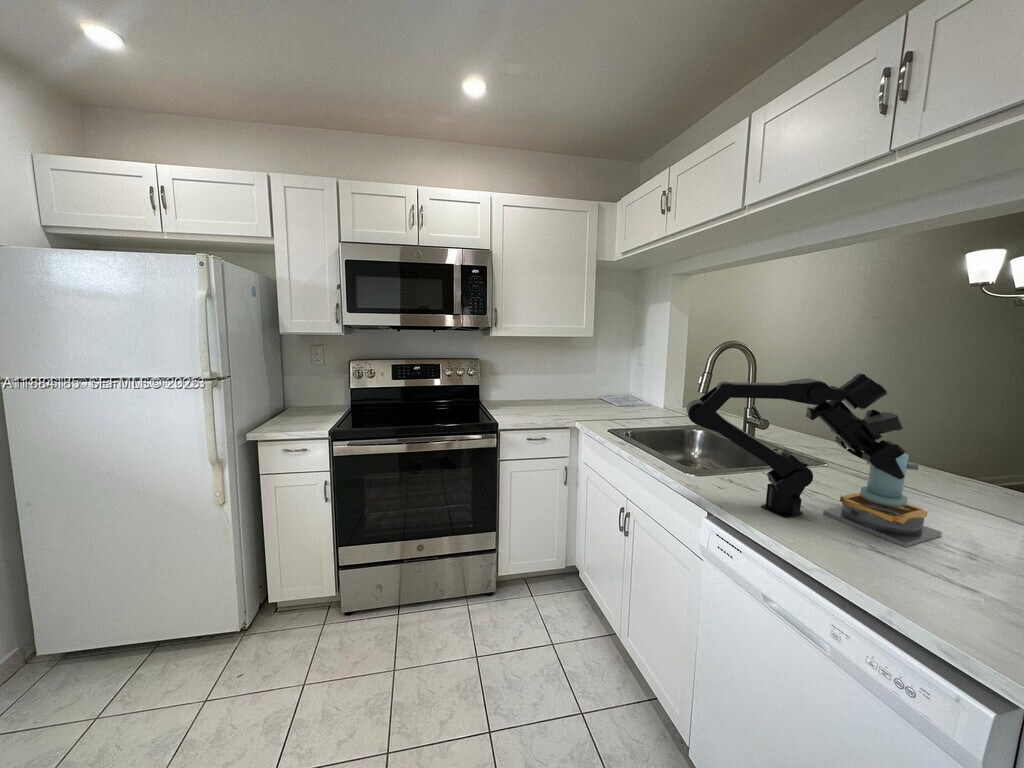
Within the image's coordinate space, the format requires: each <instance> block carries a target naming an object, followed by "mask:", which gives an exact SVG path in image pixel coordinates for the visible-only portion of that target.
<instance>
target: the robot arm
mask: <svg viewBox="0 0 1024 768" xmlns="http://www.w3.org/2000/svg"><path fill="white" fill-rule="evenodd" d="M887 395H888V391H887V390H886V389H885V388H884V386H883V385H881V384H880V383H877V382H876V381H875V380H873V379H871V378H870V377H868V376H867V375H866V374H865V373H861V372H860V373H857V374H856V375H854V376H853V377H852V378H851V379H850V380H848V381H847V382H845V383H844V384H842V385H841V386H840V387H837V386H834V385H830V386H829V385H828V384H827V383H826V382H824V381H821V380H817V379H814V378H802V379H801V378H800V379H793V380H787V381H783V382H745V381H744V382H743V381H742V382H737V381H735V382H733V381H732V382H731V381H726V380H725V381H724V380H723V381H720V382H719V383H718V384H717V385H715V387H713V388H712V389H710V390H709V391H708V392H706V393H705V394H703V395H702V396H701V397H700V398H699V399H698V398H697V399H693V400H691V401H690V402H689V403H688V405H687V406H686V413H687V416H688V418H689V420H690V422H692V423H693V424H695V425H697V426H699V427H702V428H704V429H707V430H709V431H713V432H716V433H718V434H719V435H721V436H723V437H724V438H726V439H727V440H729V441H730V442H732V443H734V444H735V445H737V446H738V447H740V448H741V449H742V450H745V451H746V452H747V453H749V454H751V455H752V456H754V457H755V458H757V459H758V460H760V461H762V462H763V463H764V464H767V466H769V467H770V468H771V470H770V471H768V472H766V475H767V479H768V481H769V482H770V483H768V484H767V488H766V498H765V503H764V504H761V505H760V508H762V509H764V510H766V511H769V512H770V513H773V514H775V515H777V516H779V517H782V518H785V519H788V518H792V517H795V516H800V515H803V511H801V507H802V498H801V495H802V494H803V491H804V490H805V488H806V487H808V486H809V485H811V483H812V482H813V481H814V480H813V479H814V475H813V474H814V473H813V472H812V470H811V469H810V468H809V467H808V466H809V464H808V463H807V462H806V461H805V460H804V459H803V458H801V457H800V456H797V455H794V454H792V453H791V452H790V451H789V450H787V448H784V449H783V451H782V452H780V451H778V450H776V449H773V448H771V447H770V446H768V445H766V444H765V443H763V442H762V441H761V440H758V439H757V438H756V437H754V436H752V435H750V434H749V433H748V432H746V431H744V430H742V429H741V428H739V426H736V425H735V424H733V423H731V422H730V421H728V420H727V419H726V418H725V417H723V416H722V415H721V414H720V413H719V412H718V411H719V410H720V409H721V408H722V407H723V405H725V403H727V401H728V400H729V399H732V398H734V399H769V400H770V399H771V400H773V399H776V400H786V401H791V402H796V403H801V404H806V405H812V406H813V407H808V406H807V407H806V414H805V417H806V418H807V419H809V420H811V421H814V420H816V419H817V418H820V420H821V421H822V422H823V423H824V424H825V425H826V426H827V427H828V428H829V430H830V431H831V432H832V433H833V434H834V435H835V440H834V441H835V442H836V443H837V444H838V446H839V447H840V448H842V449H843V450H846V452H849V453H850V454H852V455H853V456H855V457H857V458H860V459H861V460H863V461H865V462H866V464H867V465H869V466H870V465H871V466H873V467H875V468H877V469H879V470H881V471H883V472H885V473H888V474H890V475H892V476H894V477H896V478H898V479H902V478H904V477H905V478H906V475H905V476H904V474H903V472H902V471H901V469H900V467H899V465H898V463H897V461H896V458H898V457H900V456H901V455H903V454H904V453H906V451H905V450H904V449H903V448H902V447H901V446H900V445H899V444H898V443H895V442H893V441H891V440H880V441H879V442H878V441H877V440H879V439H881V438H882V437H883V435H881V434H887V433H889V432H892V431H893V432H894V431H901V430H903V429H904V427H903V425H902V422H901V420H900V418H899V415H898V414H895V413H892V412H890V411H889V412H885V411H882V412H880V411H878V410H877V409H870V410H869V409H868V410H866V413H865V417H864V418H862V419H861V418H860V417H858V416H857V415H856V414H855V413H854V412H853V411H852V410H856V409H857V408H858V409H859V410H862V411H863V410H865V409H867V408H868V407H871V405H873V404H875V403H876V402H877V401H879V400H881V399H883V398H884V397H885V396H887ZM849 407H850V408H851V409H852V410H851V409H850V408H849Z"/></svg>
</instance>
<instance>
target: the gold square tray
mask: <svg viewBox="0 0 1024 768" xmlns="http://www.w3.org/2000/svg"><path fill="white" fill-rule="evenodd" d="M839 497H840V498H839V502H841V503H842V505H841V506H838V507H834V508H830V509H824V510H823V513H822V515H824V516H826V517H829V518H832V519H834V520H836V521H839V522H841V523H843V524H846V525H849V526H851V527H854V528H856V529H858V530H861V531H864V532H866V533H867V534H868V533H869V534H871V535H873V536H876V537H879V538H882V539H884V540H886V541H888V542H891V543H893V544H896V545H899V546H900V547H904V548H908V547H912V546H914V545H917V544H921V543H924V542H928V541H930V540H933V539H936V538H940V537H942V534H943V531H940V530H938V529H934V528H932V527H929V526H927V525H924V523H925V518H927V517H928V513H929V512H928V511H925V510H924V508H923V507H918V506H916V505H912V504H910V503H907V505H906V506H905V507H892V506H886V505H882V504H878V503H874V502H871V501H869V500H866V499H864V498H863V497H861V496H860V492H856V493H851V494H845V495H841V496H839Z"/></svg>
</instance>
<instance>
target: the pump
mask: <svg viewBox="0 0 1024 768" xmlns="http://www.w3.org/2000/svg"><path fill="white" fill-rule="evenodd" d="M908 460H909V454H907V453H906V452H905V453H904V454H903V455H901V456H900V457H898V458H896V461H897V463H898V465H899V467H900V469H901V471H902V472H903V474H904V476H905V477H904V478H902V479H898V478H896V477H894V476H892V475H890V474H888V473H885V472H883V471H881V470H879V469H877V468H875V467H873V466H871V465H869V471H868V478H867V483H866V486H863V487H861V488H860V492H859V493H860V496H861V497H863V498H864V499H866V500H869V501H871V502H874V503H878V504H882V505H886V506H892V507H905V506H906V505H907V504H908V497H907V496H906V495H904V494H903V490H904V485H905V478H906V472H907V470H912V471H918V470H919V463H917V462H911V461H908Z"/></svg>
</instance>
